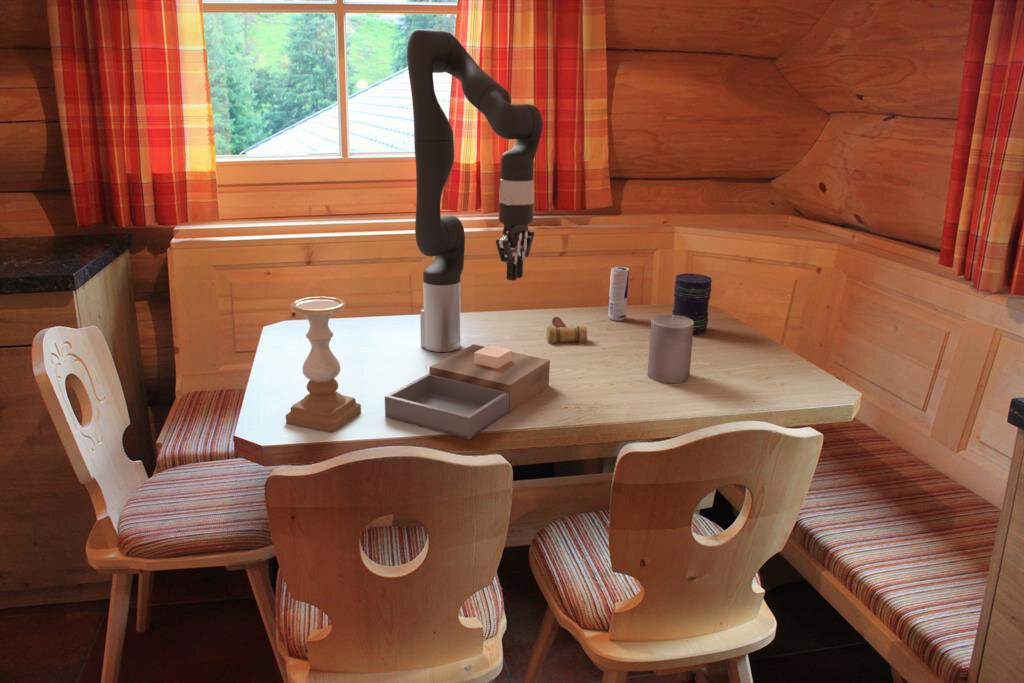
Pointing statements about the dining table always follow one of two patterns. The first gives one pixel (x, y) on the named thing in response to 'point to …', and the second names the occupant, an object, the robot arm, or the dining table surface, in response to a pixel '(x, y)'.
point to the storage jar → (693, 299)
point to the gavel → (565, 332)
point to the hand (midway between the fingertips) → (514, 278)
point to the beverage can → (618, 293)
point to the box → (447, 405)
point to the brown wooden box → (497, 374)
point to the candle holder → (321, 372)
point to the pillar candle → (670, 348)
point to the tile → (492, 356)
